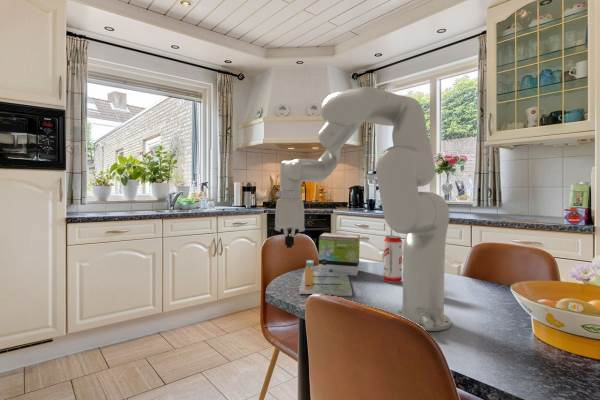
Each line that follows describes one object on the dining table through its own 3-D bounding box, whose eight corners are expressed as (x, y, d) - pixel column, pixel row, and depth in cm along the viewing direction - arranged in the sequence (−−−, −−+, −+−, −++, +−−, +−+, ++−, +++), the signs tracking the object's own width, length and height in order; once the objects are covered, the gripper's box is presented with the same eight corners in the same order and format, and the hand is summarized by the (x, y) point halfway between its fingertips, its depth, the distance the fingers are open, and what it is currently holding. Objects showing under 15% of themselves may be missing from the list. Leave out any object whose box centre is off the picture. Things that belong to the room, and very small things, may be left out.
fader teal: (313, 277, 120) (313, 262, 120) (306, 277, 120) (306, 262, 120) (313, 274, 124) (313, 260, 124) (306, 274, 124) (306, 260, 124)
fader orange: (312, 285, 110) (313, 269, 110) (305, 284, 110) (305, 269, 110) (313, 281, 114) (313, 266, 114) (305, 281, 114) (305, 266, 114)
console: (352, 296, 104) (352, 290, 104) (299, 294, 105) (299, 289, 105) (346, 276, 128) (346, 272, 128) (303, 275, 129) (303, 271, 129)
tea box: (318, 273, 132) (318, 235, 132) (322, 268, 142) (322, 232, 142) (357, 276, 129) (358, 236, 128) (359, 270, 138) (360, 233, 138)
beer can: (399, 279, 124) (400, 235, 124) (403, 284, 118) (404, 237, 117) (382, 279, 125) (382, 235, 124) (384, 283, 118) (385, 237, 118)
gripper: (267, 195, 119) (266, 248, 119) (311, 196, 118) (310, 250, 118) (271, 195, 126) (270, 244, 127) (311, 195, 125) (310, 246, 126)
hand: (289, 247), depth 123 cm, fingers closed
